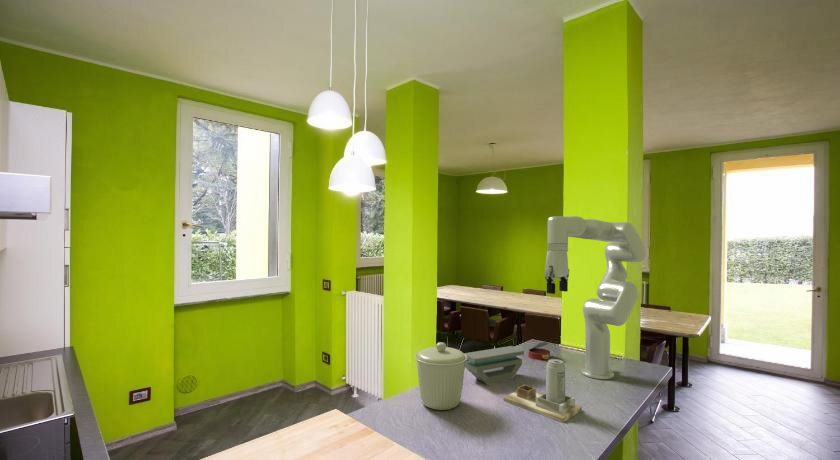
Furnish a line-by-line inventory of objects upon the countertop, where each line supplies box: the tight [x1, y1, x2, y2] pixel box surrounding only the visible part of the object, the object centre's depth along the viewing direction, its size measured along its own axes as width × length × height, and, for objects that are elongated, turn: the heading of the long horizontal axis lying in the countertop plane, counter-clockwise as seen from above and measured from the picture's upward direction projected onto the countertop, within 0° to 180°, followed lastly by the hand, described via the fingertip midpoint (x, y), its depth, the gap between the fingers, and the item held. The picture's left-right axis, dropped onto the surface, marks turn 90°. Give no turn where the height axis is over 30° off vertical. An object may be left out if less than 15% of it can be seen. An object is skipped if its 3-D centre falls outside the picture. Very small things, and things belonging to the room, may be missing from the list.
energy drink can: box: [545, 358, 566, 404], centre depth 133 cm, size 6×6×15 cm
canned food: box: [528, 341, 551, 361], centre depth 190 cm, size 11×10×10 cm
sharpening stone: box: [463, 345, 525, 386], centre depth 161 cm, size 25×8×11 cm, turn 118°
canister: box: [414, 341, 468, 411], centre depth 137 cm, size 18×18×21 cm
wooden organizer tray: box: [503, 384, 583, 424], centre depth 136 cm, size 13×22×4 cm, turn 43°
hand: (557, 292), depth 154 cm, fingers open, 9 cm apart
